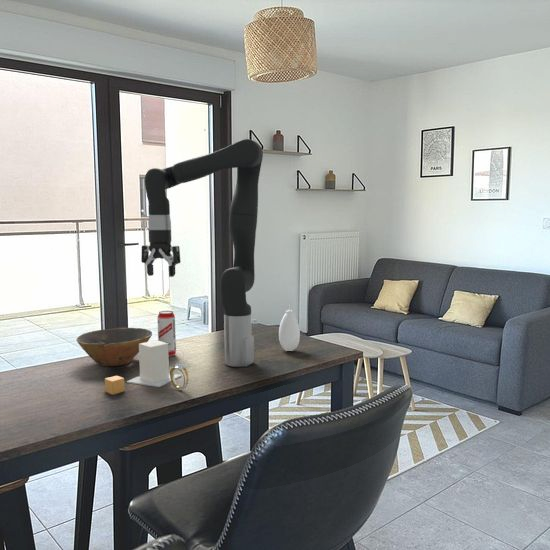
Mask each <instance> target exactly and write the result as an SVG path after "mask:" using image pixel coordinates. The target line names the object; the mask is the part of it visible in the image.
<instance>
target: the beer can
mask: <svg viewBox="0 0 550 550" xmlns="http://www.w3.org/2000/svg"><path fill="white" fill-rule="evenodd" d="M157 341H161V342H165V343H168V356H169V358H170V357H174V356H175V355H176V353H177V344H176V316H175V314H174V310H161V311H159V312H158V315H157Z"/></svg>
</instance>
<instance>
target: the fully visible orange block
mask: <svg viewBox="0 0 550 550" xmlns="http://www.w3.org/2000/svg"><path fill="white" fill-rule="evenodd" d="M125 387H126V386H125V378H124V377H122V376H119V375H114V376H110V377H105V378H104V391H105V393H107V394H109V395H112V396H113V395H117V394H120V393H123V392H125V390H126V389H125Z"/></svg>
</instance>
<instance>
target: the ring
mask: <svg viewBox="0 0 550 550" xmlns="http://www.w3.org/2000/svg"><path fill="white" fill-rule="evenodd" d="M176 370H179V371H180V372H181V375H182V377H183V384H182V385H183V386H179V385H178V384H177V382H176V379H175V378H174V374H176V373H175V372H176ZM169 373H170V378H171V383H172V385H173V387H174V388H175V389H176V390H177V391H183V390H185V389H186V388H187V386H188V384H189V372H188V370H187V369H186V367H185V365H184V364H183V363H182V362H179V363H175V366H174V365H173V367H172V368H171V369H169Z"/></svg>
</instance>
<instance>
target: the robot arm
mask: <svg viewBox="0 0 550 550" xmlns="http://www.w3.org/2000/svg"><path fill="white" fill-rule="evenodd" d="M263 153H264V152H263V149H262V147H261V145H260V143H258V142H256V141H255V140H253V139H250V138H242V139H240V140H238V141H235V142H234V143H231V144H230V145H228V146H226V147H224V148H221V149H219V150H216V151H213V152H211V153H207V154H203V155H200V156H196V157H195V156H194V157H192V158H187V159H185V160H182V161H178V162H175V163H174V164H173V165H172V166H167V167H164V168H157V167H153V168H149V170H147V171H146V173H145V175H144V187H145V193H146V198H147V201H148V219H147V220H148V222H147V223H148V226H147V227H148V242H149V244H145V245H144V244H143V245H142V246H141V261H140V262H141V263H142V264H146V274H147V276H150V277H151V276H154V262H155V260H157V259H161V260H162V259H163V260H165V261H166V262H167V264H168V277H169V278H173V277H175V275H176V266H177V265H179V264H181V251H180V250H181V248H180V246H179V245H173V246H172V244H171V243H172V221H171V213H170V212H171V210H170V209H171V205H170V204H171V203H170V200H169V198H167V195H166V194H167V193H166V190H168V189H172V188H173V187H176V186H178V185H181V184H185V183H189V182H192V181H196V180H199V179H202V178H205V177H207V176H209V175H212V174H215V173H217V172H221V171H223V170H229V169H234V168H236V169H237V170H236V173H237V174H236V184H235V188H234V192H233V195H232V199H231V203H230V207H229V208H230V209H229V219H228V221H229V223H228V226H229V227H228V228H229V229H228V230H229V233H230V238H231V241H232V245H233V249H234V252H233V253H234V258H233V266H232V267H230V268H227V269H225V270H224V271H223V272H222V274H221V277H220V299H221V300H220V301H221V306H222V309H223V321H224V323H223V328H224V329H223V331H224V335H223V336H224V338H223V339H224V364H225V366H228V367H237V368H239V367H245V368H246V367H249V366H250V365H251V364H253V363H255V338H254V337H255V335H252V307H251V305H250V304H249V303H248V302H247V295H246V294H247V292H249V291H251V289H252V288H253V286H254V284H255V277H256V276H255V246H256V238H257V236H256V235H257V233H256V232H257V226H258V215H259V213H258V212H259V210H258V209H259V179H260V174H261V168H262V163H263V158H264V157H263V156H264V155H263ZM171 252H172V253H171Z"/></svg>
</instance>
